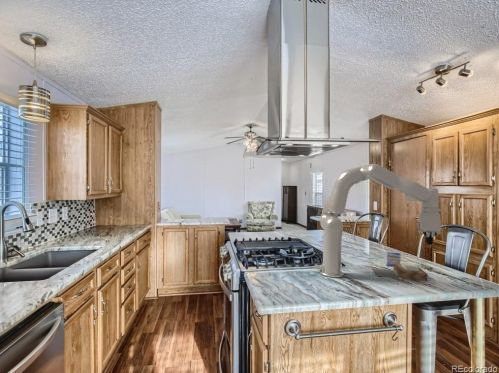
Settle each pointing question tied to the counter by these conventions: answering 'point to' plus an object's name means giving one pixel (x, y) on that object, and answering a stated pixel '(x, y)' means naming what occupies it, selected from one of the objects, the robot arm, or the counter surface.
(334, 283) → the counter surface
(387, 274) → the mat
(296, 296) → the counter surface
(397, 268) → the brown curved piece
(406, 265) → the card
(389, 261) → the medicine box
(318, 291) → the counter surface
